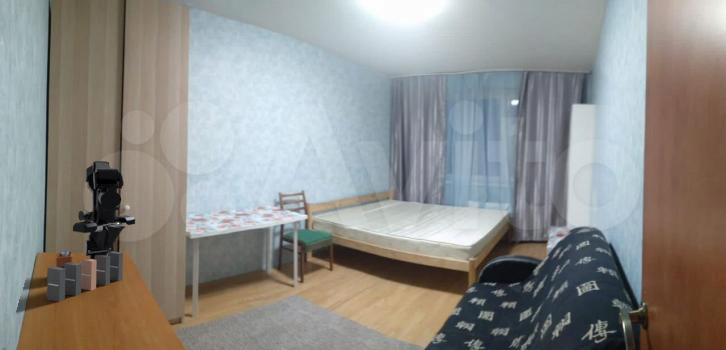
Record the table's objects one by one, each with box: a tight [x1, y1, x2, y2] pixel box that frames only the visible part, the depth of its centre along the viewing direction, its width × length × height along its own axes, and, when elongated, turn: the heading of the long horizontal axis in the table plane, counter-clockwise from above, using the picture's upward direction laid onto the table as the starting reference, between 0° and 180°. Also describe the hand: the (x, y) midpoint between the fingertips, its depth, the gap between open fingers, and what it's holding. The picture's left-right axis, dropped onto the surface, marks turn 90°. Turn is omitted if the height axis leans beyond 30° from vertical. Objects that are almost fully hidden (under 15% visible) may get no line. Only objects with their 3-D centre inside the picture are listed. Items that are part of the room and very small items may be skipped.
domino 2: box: [64, 262, 82, 297], centre depth 115 cm, size 2×5×10 cm, turn 76°
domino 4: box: [95, 255, 111, 286], centre depth 124 cm, size 2×5×10 cm, turn 76°
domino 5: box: [108, 251, 124, 282], centre depth 129 cm, size 2×5×10 cm, turn 76°
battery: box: [55, 250, 74, 268], centre depth 127 cm, size 4×7×10 cm, turn 37°
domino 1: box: [46, 265, 66, 303], centre depth 110 cm, size 2×5×10 cm, turn 76°
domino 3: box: [79, 257, 97, 291], centre depth 120 cm, size 2×5×10 cm, turn 75°
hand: (105, 247), depth 125 cm, fingers open, 3 cm apart
